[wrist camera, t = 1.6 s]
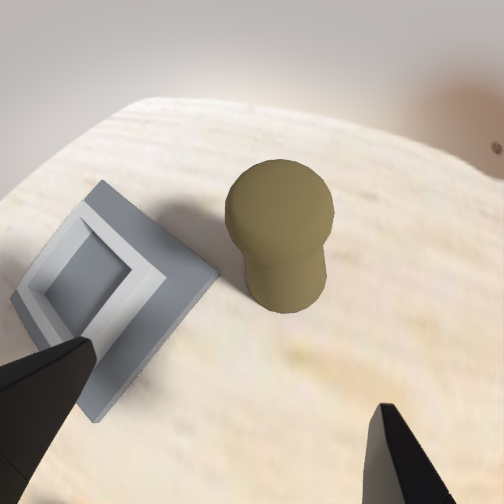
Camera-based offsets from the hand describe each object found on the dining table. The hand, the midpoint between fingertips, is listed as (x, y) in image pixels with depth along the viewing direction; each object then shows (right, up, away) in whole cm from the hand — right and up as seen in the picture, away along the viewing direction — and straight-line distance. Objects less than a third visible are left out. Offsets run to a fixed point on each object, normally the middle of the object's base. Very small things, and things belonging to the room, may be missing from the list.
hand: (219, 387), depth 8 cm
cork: (+3, +2, +15) cm, 16 cm away
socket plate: (-13, 0, +17) cm, 21 cm away
